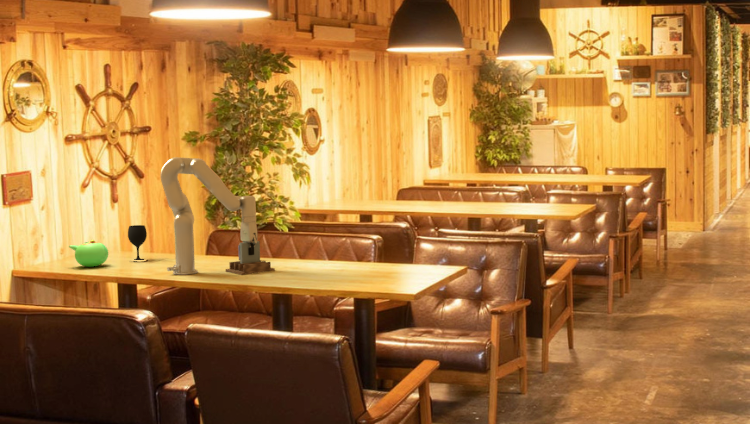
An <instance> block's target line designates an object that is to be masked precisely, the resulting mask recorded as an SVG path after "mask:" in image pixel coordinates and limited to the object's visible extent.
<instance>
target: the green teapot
mask: <svg viewBox="0 0 750 424" xmlns="http://www.w3.org/2000/svg"><path fill="white" fill-rule="evenodd" d="M68 248H70V249H71V250H73V251H75V252H74V258H75V260H76V262H77V264H79V265H81V266H82V267H87V268H93V267H94V266H95V267H98V266H101V265H103V264H104V263H105V262H107V259H108V258H109V249H108V248H107V246H106V245H105V244H104V243H102V242H99V241H95V240H94V239H91V240H90V241H87V242H86V241H85V242H84V243H82V244H80V245H69V246H68ZM95 267H94V268H95Z"/></svg>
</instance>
